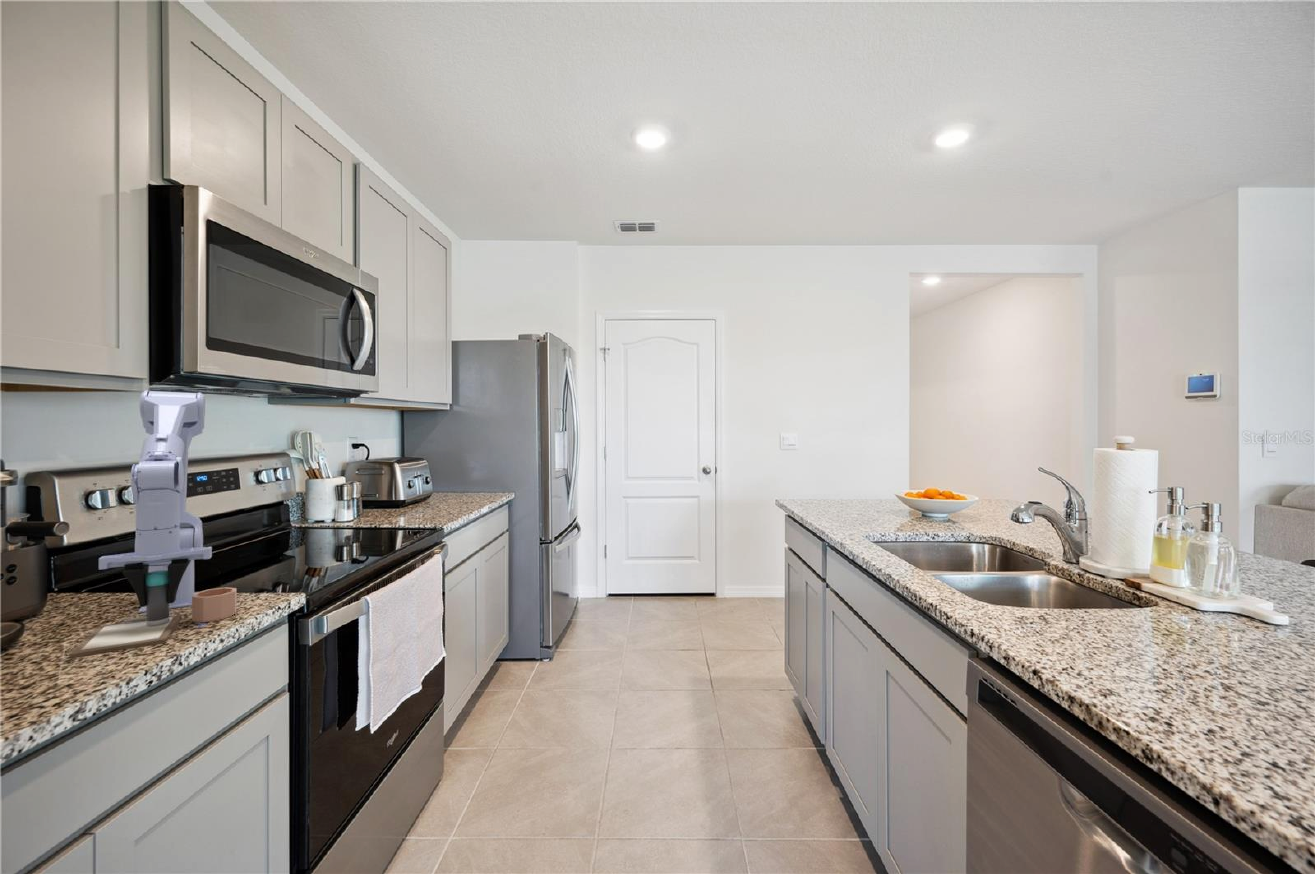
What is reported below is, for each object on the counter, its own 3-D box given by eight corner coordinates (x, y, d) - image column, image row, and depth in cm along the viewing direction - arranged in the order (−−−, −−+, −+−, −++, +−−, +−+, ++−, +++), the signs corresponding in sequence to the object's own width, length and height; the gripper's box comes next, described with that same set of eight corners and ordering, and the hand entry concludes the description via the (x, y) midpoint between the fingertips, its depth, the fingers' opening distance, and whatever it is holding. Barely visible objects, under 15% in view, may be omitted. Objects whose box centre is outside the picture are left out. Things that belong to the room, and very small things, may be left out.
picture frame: (98, 629, 93) (98, 623, 93) (181, 617, 99) (181, 611, 99) (69, 658, 81) (69, 650, 81) (165, 642, 87) (165, 635, 87)
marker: (147, 621, 94) (148, 571, 94) (171, 618, 96) (171, 569, 96) (143, 627, 92) (143, 575, 91) (168, 623, 93) (168, 573, 93)
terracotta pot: (196, 614, 101) (196, 590, 101) (237, 608, 104) (237, 585, 104) (190, 624, 95) (190, 599, 95) (234, 617, 99) (234, 593, 99)
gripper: (92, 535, 86) (92, 617, 86) (207, 527, 94) (207, 602, 94) (106, 528, 92) (106, 605, 92) (213, 521, 100) (213, 592, 100)
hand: (158, 603), depth 94 cm, fingers closed on marker, 3 cm apart
